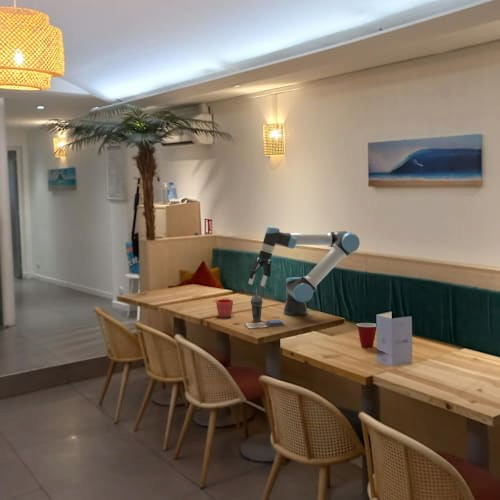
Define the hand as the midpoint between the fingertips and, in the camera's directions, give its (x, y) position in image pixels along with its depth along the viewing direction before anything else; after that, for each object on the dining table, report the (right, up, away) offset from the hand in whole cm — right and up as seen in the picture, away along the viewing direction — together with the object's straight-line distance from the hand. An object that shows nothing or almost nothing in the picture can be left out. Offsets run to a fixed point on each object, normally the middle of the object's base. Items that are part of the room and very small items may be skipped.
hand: (256, 285), depth 383 cm
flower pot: (-20, -21, +16) cm, 33 cm away
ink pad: (+11, -23, -9) cm, 27 cm away
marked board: (0, -23, -13) cm, 27 cm away
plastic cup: (+56, -28, -60) cm, 87 cm away
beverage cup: (0, -22, +3) cm, 22 cm away
